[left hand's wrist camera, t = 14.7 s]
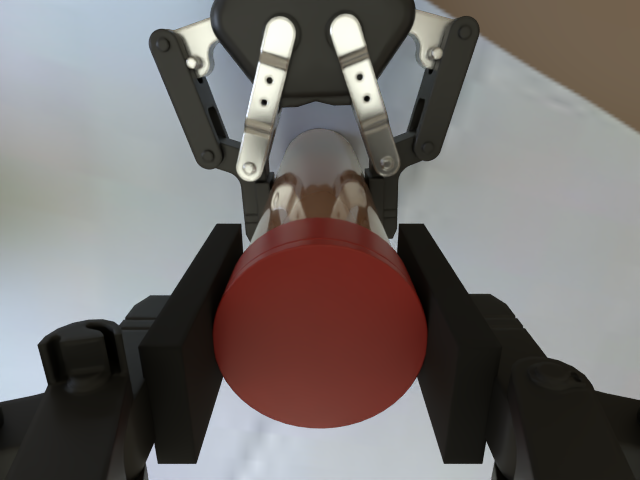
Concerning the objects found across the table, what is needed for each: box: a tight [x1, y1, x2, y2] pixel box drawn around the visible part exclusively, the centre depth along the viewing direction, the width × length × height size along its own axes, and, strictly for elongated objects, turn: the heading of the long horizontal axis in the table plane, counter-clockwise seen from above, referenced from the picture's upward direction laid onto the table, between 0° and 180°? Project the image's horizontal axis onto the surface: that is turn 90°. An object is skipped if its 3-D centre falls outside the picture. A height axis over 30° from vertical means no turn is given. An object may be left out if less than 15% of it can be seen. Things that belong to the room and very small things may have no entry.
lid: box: [213, 217, 428, 428], centre depth 11 cm, size 5×5×2 cm
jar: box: [249, 129, 391, 246], centre depth 19 cm, size 5×5×19 cm
